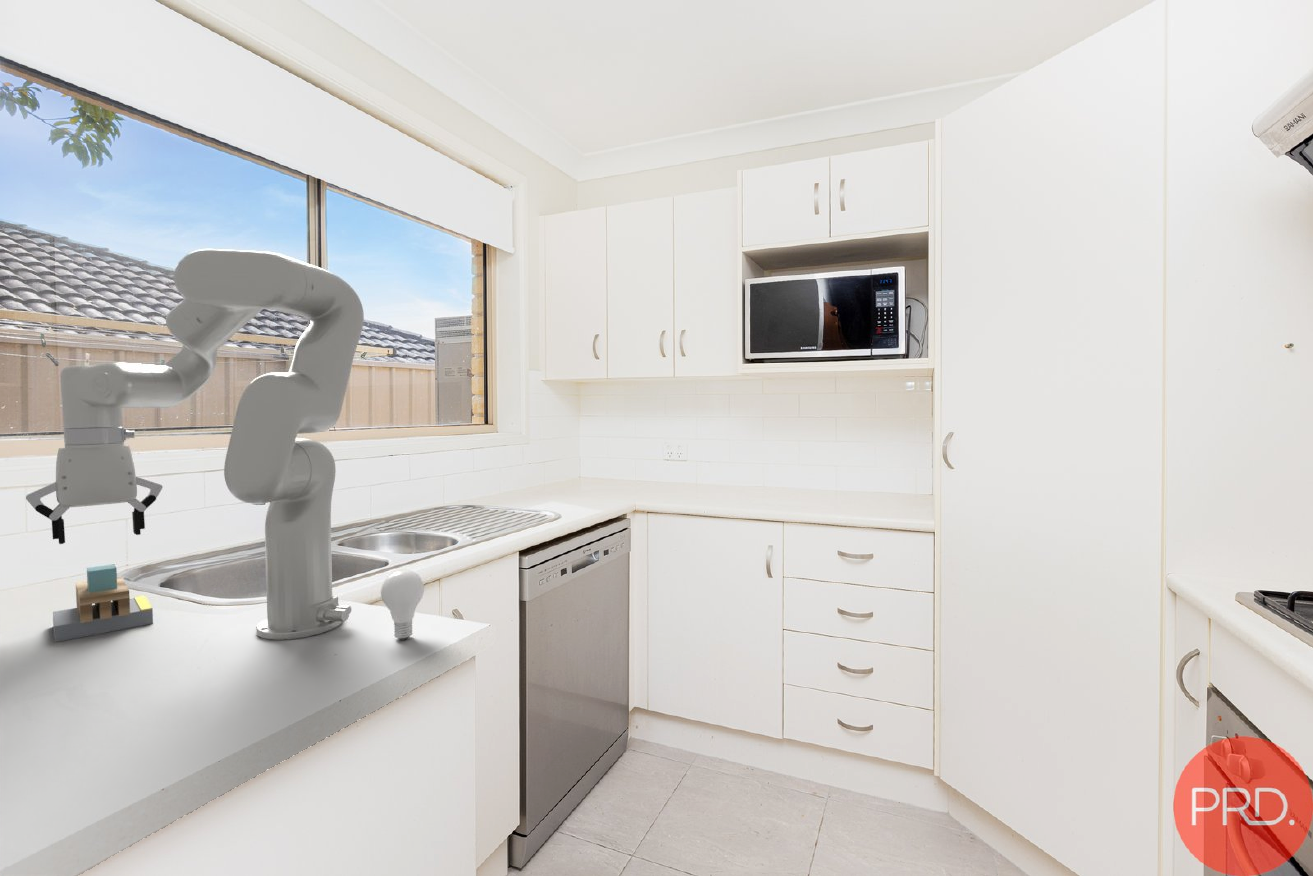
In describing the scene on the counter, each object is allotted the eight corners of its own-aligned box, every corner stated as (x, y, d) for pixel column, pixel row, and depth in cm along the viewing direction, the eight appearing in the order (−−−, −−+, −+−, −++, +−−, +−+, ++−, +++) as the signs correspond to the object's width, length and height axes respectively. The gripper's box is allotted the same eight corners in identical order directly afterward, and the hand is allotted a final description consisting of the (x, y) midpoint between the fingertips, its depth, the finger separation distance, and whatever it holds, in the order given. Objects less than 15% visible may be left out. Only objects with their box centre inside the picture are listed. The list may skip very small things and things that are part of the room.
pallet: (130, 614, 103) (129, 590, 103) (80, 623, 98) (79, 598, 98) (122, 598, 111) (121, 576, 111) (76, 606, 107) (75, 583, 107)
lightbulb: (433, 635, 100) (432, 568, 100) (402, 649, 94) (401, 577, 94) (404, 629, 103) (403, 563, 102) (372, 642, 97) (371, 573, 96)
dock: (153, 623, 106) (152, 607, 106) (55, 642, 97) (54, 625, 97) (145, 610, 113) (144, 595, 113) (53, 626, 104) (52, 610, 104)
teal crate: (117, 588, 104) (116, 567, 104) (89, 592, 101) (88, 571, 101) (115, 584, 106) (114, 564, 106) (87, 588, 104) (86, 567, 104)
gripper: (156, 436, 114) (161, 528, 115) (22, 440, 102) (29, 543, 103) (162, 436, 109) (167, 533, 110) (21, 441, 97) (28, 550, 97)
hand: (100, 538), depth 106 cm, fingers open, 9 cm apart
